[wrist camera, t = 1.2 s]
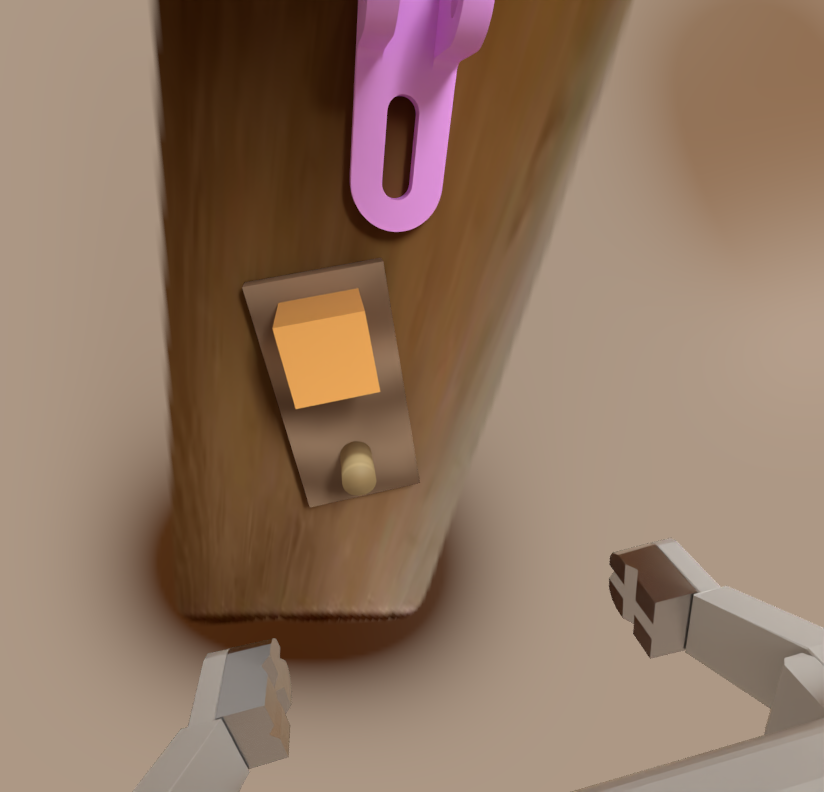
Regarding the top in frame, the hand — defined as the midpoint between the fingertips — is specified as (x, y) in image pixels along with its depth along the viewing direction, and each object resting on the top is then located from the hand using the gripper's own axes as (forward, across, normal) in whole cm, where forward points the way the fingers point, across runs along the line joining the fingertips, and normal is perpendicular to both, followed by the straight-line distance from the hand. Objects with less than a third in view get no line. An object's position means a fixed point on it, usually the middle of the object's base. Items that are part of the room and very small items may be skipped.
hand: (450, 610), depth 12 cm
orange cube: (+24, +3, 0) cm, 24 cm away
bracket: (+25, -4, -12) cm, 28 cm away
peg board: (+26, +3, +5) cm, 26 cm away
